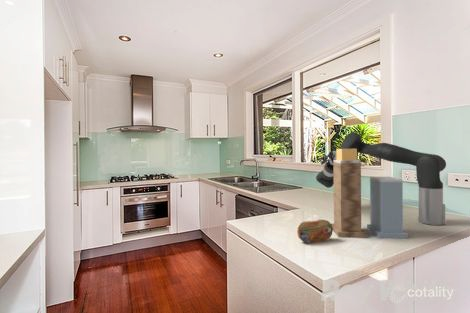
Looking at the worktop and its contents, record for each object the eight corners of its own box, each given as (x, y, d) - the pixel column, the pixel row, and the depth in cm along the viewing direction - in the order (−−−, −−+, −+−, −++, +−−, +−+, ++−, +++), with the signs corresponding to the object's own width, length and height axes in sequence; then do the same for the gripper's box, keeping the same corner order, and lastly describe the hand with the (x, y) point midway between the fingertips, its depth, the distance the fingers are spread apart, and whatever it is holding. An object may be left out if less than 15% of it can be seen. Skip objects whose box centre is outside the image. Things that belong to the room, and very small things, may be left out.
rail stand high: (355, 228, 111) (354, 159, 110) (366, 237, 99) (365, 160, 98) (330, 227, 112) (330, 159, 112) (338, 237, 101) (337, 161, 100)
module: (343, 158, 119) (343, 148, 119) (356, 160, 101) (356, 148, 101) (330, 159, 120) (330, 149, 120) (342, 160, 102) (341, 148, 102)
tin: (300, 244, 94) (300, 223, 93) (296, 241, 97) (296, 221, 96) (333, 240, 98) (333, 219, 97) (328, 237, 101) (328, 217, 100)
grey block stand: (392, 229, 109) (392, 176, 108) (408, 238, 97) (407, 179, 96) (366, 228, 110) (366, 176, 110) (379, 238, 98) (378, 179, 98)
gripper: (316, 161, 133) (322, 146, 118) (344, 161, 131) (353, 145, 116) (318, 174, 129) (324, 159, 115) (346, 173, 127) (356, 159, 113)
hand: (339, 152), depth 115 cm, fingers open, 6 cm apart
